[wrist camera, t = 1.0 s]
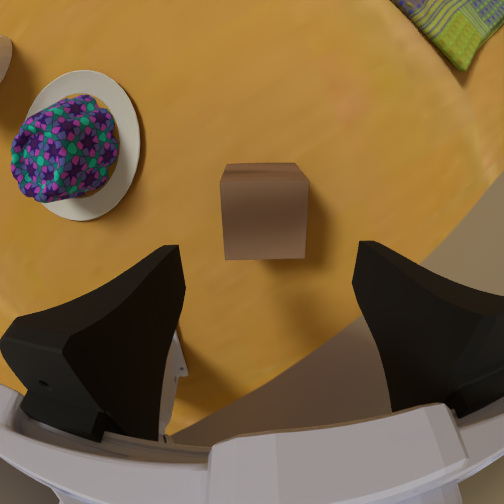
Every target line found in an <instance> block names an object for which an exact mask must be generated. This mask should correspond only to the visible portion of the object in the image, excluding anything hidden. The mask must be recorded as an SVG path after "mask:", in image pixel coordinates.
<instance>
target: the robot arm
mask: <svg viewBox="0 0 504 504" xmlns="http://www.w3.org/2000/svg"><path fill="white" fill-rule="evenodd" d="M352 285H353V289H354V292H355V296H356V299H357V302H358V304H359V307H360V309H361V311H362V313H363V316H364V317H365V320H366V322H367V324H368V327H369V329H370V331H371V333H372V335H373V338H374V340H375V342H376V345H377V347H378V350H379V353H380V356H381V360H382V364H383V368H384V371H385V376H386V380H387V385H388V390H389V395H390V401H391V408H392V413H389V414H385V415H381V416H376V417H371V418H366V419H361V420H356V421H350V422H344V423H338V424H331V425H323V426H315V427H306V428H295V429H280V430H270V431H263V432H254V433H245V434H239V435H237V436H234V437H231V438H228V439H226V440H223V441H220V442H218V443H216V444H215V445H213V447H200V446H189V445H179V444H174V443H173V441H172V438H171V437H170V436H169V435H167V434H164V433H165V427H166V426H167V425H168V423H169V421H170V419H171V416H172V410H173V405H174V400H175V395H176V390H177V385H178V380H179V376H181V377H186V376H188V369H187V366H186V363H185V359H184V356H183V353H182V349H181V346H180V342H179V339H178V335H177V331H176V327H177V324H178V321H179V317H180V314H181V311H182V307H183V302H184V296H185V290H186V285H185V280H184V274H183V269H182V263H181V257H180V251H179V245H164V246H162V247H160V248H158V249H157V250H155V251H154V252H152V253H151V254H149V255H148V256H147V257H145V258H144V259H142V260H141V261H140V262H138V263H137V264H135V265H134V266H133V267H131V268H130V269H128V270H127V271H125V272H124V273H122V274H121V275H119V276H118V277H116V278H115V279H113V280H111V281H110V282H108V283H106V284H105V285H103V286H101V287H99V288H97V289H95V290H93V291H91V292H89V293H87V294H85V295H83V296H81V297H78V298H76V299H74V300H72V301H69V302H67V303H64V304H62V305H59V306H56V307H53V308H50V309H47V310H44V311H40V312H36V313H32V314H28V315H24V316H20V317H17V318H16V319H15V320H14V321H13V322H12V324H11V325H10V326H9V328H8V329H7V331H6V332H5V333H4V335H3V336H2V338H1V339H0V350H1V353H2V355H3V357H4V359H5V361H6V362H7V364H8V365H9V367H10V368H11V369H12V371H13V372H14V373H15V375H16V376H17V377H18V378H19V380H20V381H21V382H22V383H23V385H24V386H25V387H26V388H27V389H28V391H27V393H26V395H25V397H24V396H23V395H22V394H21V393H19V392H18V391H16V390H14V389H11V388H9V387H7V386H5V385H3V384H0V457H1V458H2V459H4V460H5V461H7V462H8V463H9V464H11V465H12V466H14V467H15V468H17V469H18V470H20V471H22V472H23V473H25V474H27V475H28V476H30V477H32V478H34V479H35V480H37V481H39V482H41V483H43V484H45V485H46V486H48V487H50V488H52V490H53V491H54V492H55V494H56V495H57V496H58V498H59V499H60V502H59V504H463V503H462V498H461V495H460V491H459V487H458V484H457V483H459V482H461V481H462V480H465V479H466V478H468V477H470V476H472V475H473V474H475V473H476V472H478V471H480V470H481V469H483V468H485V467H486V466H488V465H489V464H491V463H492V462H494V461H495V460H497V459H498V458H500V457H501V456H502V455H504V296H499V295H495V294H491V293H487V292H483V291H479V290H476V289H473V288H470V287H467V286H464V285H462V284H459V283H456V282H453V281H451V280H449V279H447V278H444V277H442V276H440V275H437V274H435V273H433V272H431V271H429V270H428V269H426V268H424V267H422V266H420V265H418V264H416V263H414V262H413V261H411V260H409V259H407V258H406V257H404V256H402V255H400V254H399V253H397V252H395V251H393V250H391V249H390V248H388V247H386V246H384V245H382V244H380V243H378V242H375V241H359V247H358V253H357V258H356V264H355V269H354V274H353V280H352Z"/></svg>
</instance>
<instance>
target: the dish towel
mask: <svg viewBox="0 0 504 504" xmlns="http://www.w3.org/2000/svg"><path fill="white" fill-rule="evenodd" d="M391 1H392V2H393V3H394V4H395V5H396V6H397V7H398V8H400V9H401V10H402V11H403V12H404V13H405V14H406V15H407V16H408V17H409V18H410V20H411V21H412V22H413V23H414V24H415V25H416V26H417V27H418V28H419V29H420V30H421V31H422V32H423V33H424V34H425V35H426V36H427V37H428V38H429V39H430V40H431V41H432V42H433V43H434V44H435V45H436V46H437V47H438V48H439V49H440V50H441V51H442V52H443V54H444V55H445V56H446V57H447V58H448V59H449V60H450V61H451V63H452V64H453V65H454V66H455V67H456V68H457V69H458V70H459V71H460V72H463V71H466V70H467V69H468V67H469V66H470V64H471V61H472V59H473V57H474V55H475V53H476V52H477V50H478V49H479V48H480V47H481V46H482V45H483V44H484V43H485V42H486V41H487V40H488V39H489V38H490V37H491V36H492V35H493V34H494V33H495V32H496V31H497V30H498V29H499V28H500V27H501V26H502V25H503V24H504V0H391Z"/></svg>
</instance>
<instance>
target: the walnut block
mask: <svg viewBox="0 0 504 504" xmlns="http://www.w3.org/2000/svg"><path fill="white" fill-rule="evenodd" d="M220 195H221V210H222V225H223V239H224V252H225V260H257V259H297V258H305V246H306V232H307V216H308V197H309V180H308V179H307V177H306V176H305V175H304V174H303V172H302V171H301V170H300V169H299V168H298V166H297V165H296V164H295V163H240V164H227V166H226V168H225V170H224V173H223V175H222V178H221V180H220Z"/></svg>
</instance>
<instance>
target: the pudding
mask: <svg viewBox="0 0 504 504" xmlns="http://www.w3.org/2000/svg"><path fill="white" fill-rule="evenodd" d="M75 93H86V94H90V95H93V96H96V97H97V98H99V99H100V100H102V101H103V102H104V103H105V104H106V105H107V106H108V107H109V109H110V110H111V112H112V113H113V115H114V118H115V120H116V122H117V126H118V130H119V136H120V153H119V157H118V162H117V165H116V168H115V171H114V173H113V175H112V176H111V178H110V180H109V181H108V182H107V184H106V185H105V186H104V187H103V188H102V189H101V190H100V191H98V192H97V193H95V194H93V195H91V196H89V197H86V198H75V197H80V196H83V195H85V194H86V192H87V191H90V190H95V189H98V188H100V187H101V186H103V185H104V184H105V182H106V180H107V179H108V167H109V166H110V165H111V164H113V163H114V162H115V161H116V158H117V155H118V142H117V141H116V140H115V138H114V137H113V135H112V133H113V129H114V125H115V123H114V120H113V116H112V114H111V113H110V112H109V111H108V110H107V109H104V108H98V107H97V104H96V101H95V99H94V98H93V97H91V96H89V95H80V96H78V97H75V98H73V99H71V100H70V99H67V98H66V99H63V100H61V101H59V100H60V99H62V98H64V97H66V96H68V95H71V94H75ZM58 101H59V102H58ZM139 152H140V133H139V125H138V121H137V116H136V113H135V110H134V108H133V105H132V103H131V101H130V99H129V98H128V96H127V95H126V93H125V91H124V90H123V89H122V88H121V87H120V86H119V85H118V84H117V83H116V82H115V81H114V80H113V79H111V78H109V77H108V76H106V75H105V74H102V73H99V72H96V71H90V70H79V71H72V72H69V73H67V74H64V75H61V76H60V77H58V78H56V79H55V80H53V81H52V82H51V83H49V84H48V85H47V86H46V87H45V88H44V89H43V90H42V91H41V92H40V94H39V95H38V96H37V97H36V99H35V100H34V102H33V104H32V106H31V107H30V109H29V112H28V114H27V117H26V119H25V122H24V123H23V125H22V126H21V127H20V132H19V134H17V135H16V136H15V138H14V140H13V142H12V147H11V154H12V157H13V159H12V162H11V171H12V174H13V177H14V178H15V179H16V180H17V181H18V185H19V189H20V190H21V192H22V193H23V194H24V195H25V196H27V197H33V198H34V199H35V200H36V201H38V202H41V203H42V204H43V205H44V206H45V207H46V208H47V209H49V210H50V211H51V212H53V213H55V214H56V215H58V216H60V217H63V218H66V219H69V220H76V221H83V220H91V219H94V218H97V217H100V216H101V215H103V214H105V213H107V212H109V211H110V210H111V209H112V208H113V207H115V206H116V205H117V204H118V203H119V201H120V200H121V199H122V198H123V197H124V195H125V194H126V192H127V190H128V188H129V187H130V185H131V183H132V180H133V178H134V175H135V173H136V169H137V164H138V160H139Z"/></svg>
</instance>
